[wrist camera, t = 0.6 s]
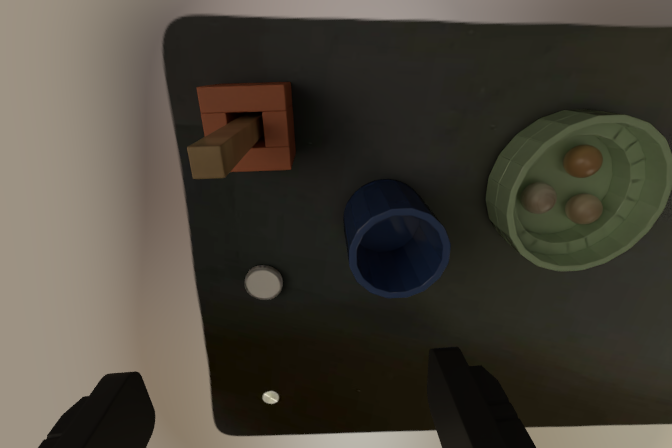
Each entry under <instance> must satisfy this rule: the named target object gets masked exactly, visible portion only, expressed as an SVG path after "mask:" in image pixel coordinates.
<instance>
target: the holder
mask: <svg viewBox="0 0 672 448" xmlns="http://www.w3.org/2000/svg"><path fill="white" fill-rule="evenodd" d="M197 93H198V99H199V105H200V111H201V113H202V114H201V117H202V123H203V129H204V135H205V136H207V135H209V134H211V133H212V132H214V131H216V130H218V129H219V128H221V127H223V126H225V125H226V124H228V123H230V122H231V121H233V120H235V119H237V118H238V117H240V116H242V115H243V112H262V118H263V127H264V135H262V136H261V138H260V139H259V140H258V141H257V142H256V143H255V144H254V146H253V147H252V148H251V149H250V150H249V151H248V152H247V153H246V155H245V156H244V157H243V158H242V159H241V160H240V161H239V162H238V164H237V165H236V166H235V167H234V168H233V169H232V170H231V172H243V171H271V170H291V168H292V164H293V161H294V158H295V154H296V147H295V134H294V120H293V106H292V92H291V82H267V83H234V84H215V85H208V86H201V87H197Z"/></svg>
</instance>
